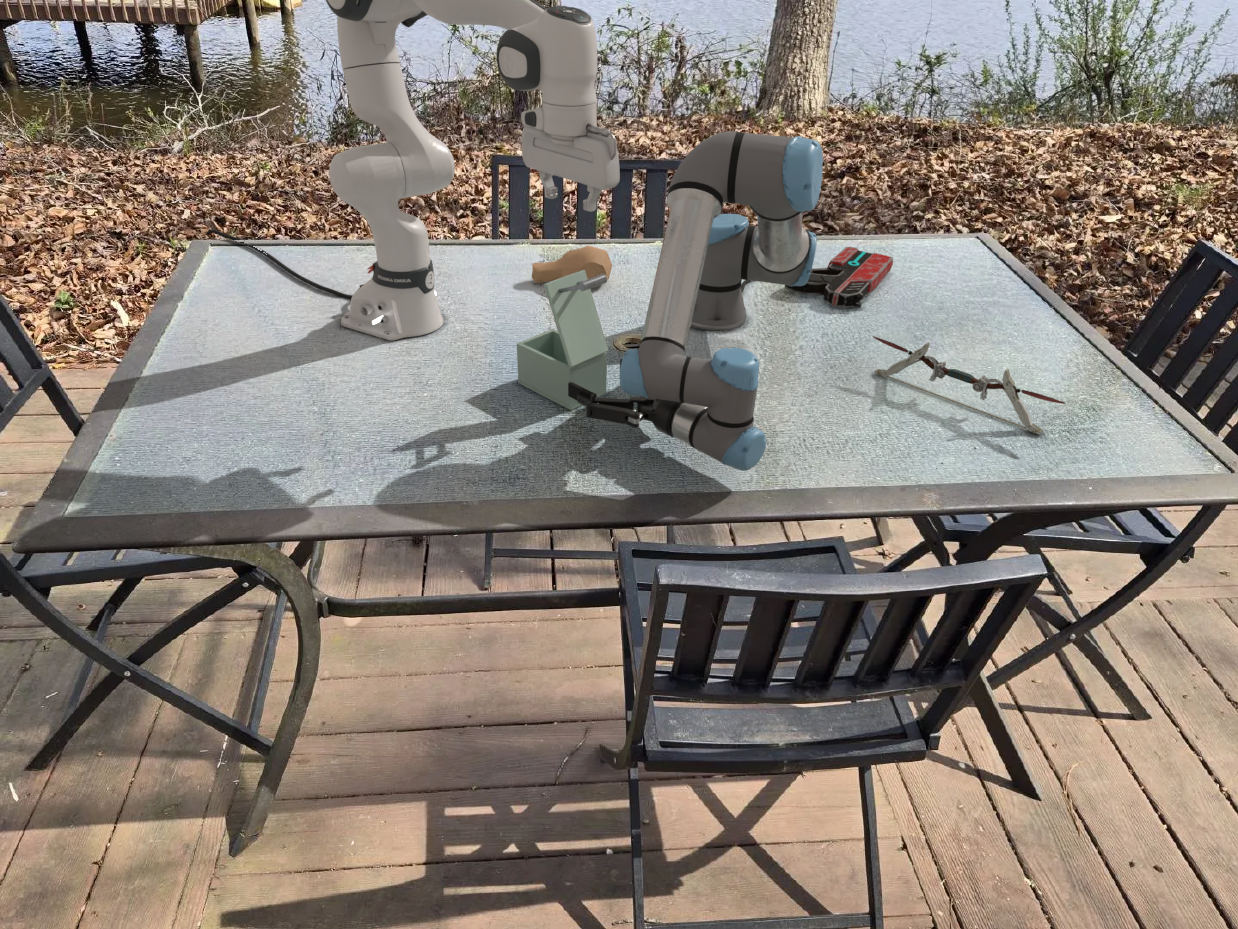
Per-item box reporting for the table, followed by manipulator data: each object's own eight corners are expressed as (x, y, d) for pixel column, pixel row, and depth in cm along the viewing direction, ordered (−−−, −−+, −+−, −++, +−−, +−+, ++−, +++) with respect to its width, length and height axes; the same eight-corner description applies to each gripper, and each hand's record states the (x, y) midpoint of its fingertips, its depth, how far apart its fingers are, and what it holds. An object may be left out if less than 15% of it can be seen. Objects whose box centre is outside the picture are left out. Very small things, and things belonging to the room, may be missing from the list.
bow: (1055, 436, 162) (1072, 389, 156) (1051, 440, 160) (1068, 392, 155) (868, 367, 183) (877, 323, 177) (863, 370, 182) (872, 326, 176)
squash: (613, 292, 213) (609, 260, 207) (532, 299, 215) (526, 267, 209) (614, 269, 221) (610, 237, 215) (536, 276, 223) (529, 244, 217)
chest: (518, 383, 174) (516, 343, 169) (553, 367, 180) (553, 328, 175) (570, 410, 166) (570, 369, 161) (606, 393, 171) (607, 352, 167)
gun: (782, 277, 212) (859, 296, 204) (826, 238, 234) (898, 255, 226) (779, 294, 214) (856, 314, 207) (823, 255, 236) (894, 271, 229)
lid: (543, 284, 156) (572, 277, 150) (581, 270, 162) (611, 263, 156) (569, 367, 161) (598, 363, 155) (605, 350, 167) (635, 346, 161)
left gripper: (629, 127, 139) (627, 214, 147) (541, 106, 150) (543, 187, 158) (602, 134, 135) (600, 222, 143) (514, 111, 147) (517, 194, 154)
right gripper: (633, 464, 146) (546, 417, 158) (725, 412, 161) (640, 372, 173) (635, 426, 141) (546, 380, 153) (729, 375, 157) (642, 338, 169)
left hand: (570, 203), depth 151 cm, fingers open, 8 cm apart
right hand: (595, 376), depth 163 cm, fingers open, 13 cm apart
